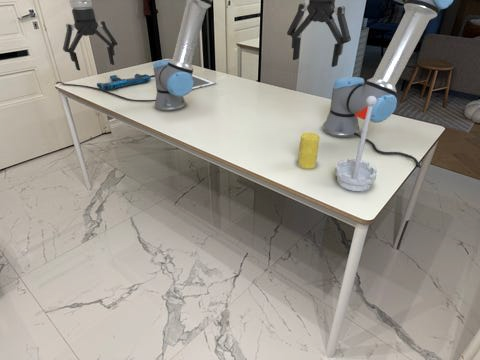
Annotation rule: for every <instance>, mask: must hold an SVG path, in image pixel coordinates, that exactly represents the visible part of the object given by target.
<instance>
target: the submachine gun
mask: <svg viewBox="0 0 480 360" xmlns="http://www.w3.org/2000/svg"><path fill="white" fill-rule="evenodd" d="M152 78H155V74H152V75H149V74H146V73H145V74H140V73H135V74H134V77H130V78H121V77H118V75H116V74H114V75H109V79H110V80H111V81H110V82H103V83H102V82H96V88H98V89H102V90H105V91H107V90H112V89H113V90H117V88H120V87H121V88H122V87H126V86H130V85H135V84H140V83H145V82H146V83H147V82H149V81H150V80H151V79H152Z"/></svg>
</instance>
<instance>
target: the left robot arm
mask: <svg viewBox="0 0 480 360" xmlns="http://www.w3.org/2000/svg"><path fill="white" fill-rule="evenodd" d="M68 1H69V5H70V8H71V13H72V17H73V22H74V24H73V23H72V24H70V23H66V24H65V27H66V32H65V36H64V41H63V46H62V51H64V52H65V53H69V57H70V60H71V62H73V63H74V65H75V69H76V71H81V67H80V63H79V60H78V59H79V58H78V56H77V52H75V50H76V48H77V46H78V45H79V43H80V40H81V39H82V38H83V36H84V37H87V36H94V35H96V36H97V37H98V38H99V39H100V40H101V41H102V42H104V43H105V45H107V46H106V49H107V55H108V59H109V64H110V65H112V66H114V65H115V61H114V56H115V55H116V53H115V47H116V46H118V42H117V41H116V39H115V37H114V36H113V35H112V33H111V32H110V30H109V29H108V27H107V25H106V21H104V20H100V21H97V20H96V15H95V10H94V9H93V8H92V7H93V1H92V0H68ZM212 3H213V0H186V4H185V8H184V12H183V16H182V20H181V24H180V28H179V32H178V36H177V40H176V44H175V48H174V52H173V57H172V58H170V59H161V60H156V61H154V62H153V73H154V74H153V75H155V77H154V82H155V88H156V97H155V99H132V98H127V97H124V96H121V95H118V94H115V93H113V92H110V91H107V90H102V89H100V88H99V87H95V86H89V85H82V84H75V83H74V84H73V83H64V82H62V81H57V82H56V83H55V84H56V85H58V84H62V85H64V86H73V87H83V88H89V89H92V90H97V91H100V92H104V93H107V94H110V95H112V96H115V97H117V98H121V99H124V100H127V101H130V102H154V106H155V107H154V108H155V109H156V110H158V111H160V112H176V111H180V110H183V109H184V108H186V101H185V98H184V97H185V96H187V95H188V94H190V93H191V92H192V91H193V90H192V88H193V84H194V82H193V78H192V74H193V73H194V67H193V65H192V63H193V61H194V60H193V59H194V57H195V52H196V49H197V46H198V41H199V38H200V34H201V30H202V28H203V27H202V26H203V23H204V19H205V15H206V11H207V9H209V8H211V7H212ZM98 27H100V28H101V29H102V31H104V33H105V35H106V36H107V38H108V39H109V40H108V39H107V38H106V37H105V36H104V35H103V34H102V33H101V32H100V31H99V30H97V29H98ZM74 29H75V30H76V31H77V32H76V33H75V36H74V38H73V40H72V34H73V31H74ZM71 40H72V41H71Z"/></svg>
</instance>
